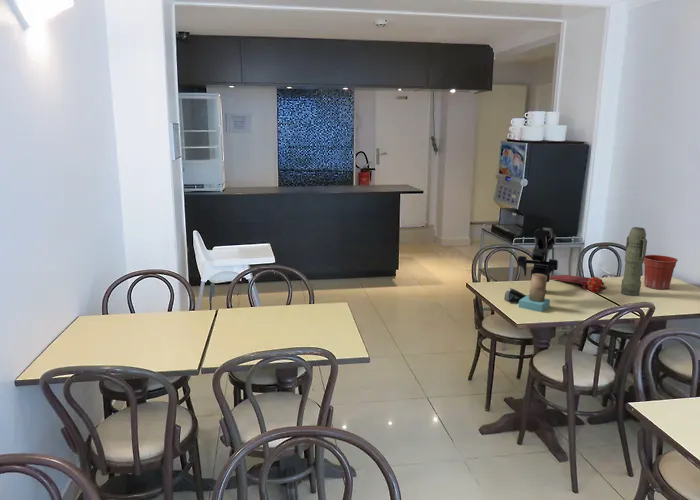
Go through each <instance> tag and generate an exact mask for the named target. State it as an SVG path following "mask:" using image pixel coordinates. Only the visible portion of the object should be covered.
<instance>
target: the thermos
mask: <svg viewBox="0 0 700 500" xmlns="http://www.w3.org/2000/svg"><path fill="white" fill-rule="evenodd" d="M646 232H647V231H646V229H645V228H643V227H638V226H633V227H632V228H631V229H630V231H629V233H628V236H627V237H626V242H625V243H626V244H625V252H624V253H625V255H624V256H625V257H624V261H625V262H624V263H625V264H624V270H623V271H624V272H623V278H622V279H621V287H620V289H621V290H620V294H622V295H624V296H629V297H638V296H640V291H641V289H642V288H641V286H642V280H641V277H642V269H643V264H644V258H645V255H647V254H646V253H647V247H648V246H647V244H648V240H647V238H646V237H647V233H646Z"/></svg>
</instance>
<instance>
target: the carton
mask: <svg viewBox="0 0 700 500" xmlns="http://www.w3.org/2000/svg"><path fill="white" fill-rule="evenodd" d="M590 278H591V277H588V276H587V277H585V276H578V275H570V274H558V275H552V276H551V275H550V279H549V280H555V281H560V282H561V281H562V282H569V283H575V284H579V285H581V287H582V288H581V289H582V290H584V291H586V290H588V285H586V284H587V282H588V281H589V279H590Z"/></svg>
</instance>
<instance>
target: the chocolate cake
mask: <svg viewBox="0 0 700 500" xmlns="http://www.w3.org/2000/svg"><path fill="white" fill-rule="evenodd" d="M527 295H528V294H527ZM527 295H526V294H524V293H522V292H521V291H518V290H516V289H514V288H511V287H510V289H509V290H505V292H504V296H503V300H504V301H507V302H508V301H509V304H517V303H518V304H519V300H520V299H522V298H524V297H525V296H527Z"/></svg>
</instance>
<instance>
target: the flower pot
mask: <svg viewBox="0 0 700 500" xmlns="http://www.w3.org/2000/svg"><path fill="white" fill-rule="evenodd" d="M678 261H679V259H677V258H675V257H672V256H667V255H661V254H645V258H644V262H643V264H644V274H643V275H644V276H643V278H644V283H643V284H644V286H645V287H646V288H647V287H649V288H650V289H654V290H669V289H670V287H671V283H672V279H673V274H674V270H675V268H676V265H677V262H678Z"/></svg>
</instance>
